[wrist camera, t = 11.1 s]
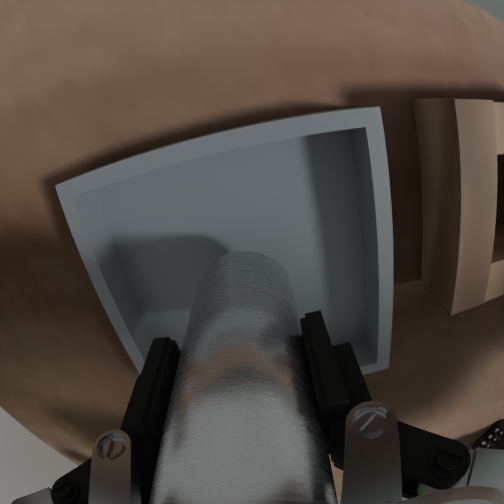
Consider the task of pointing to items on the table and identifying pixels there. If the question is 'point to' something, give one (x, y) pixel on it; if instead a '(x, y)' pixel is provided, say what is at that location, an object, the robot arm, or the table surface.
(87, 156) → the table surface
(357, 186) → the tray
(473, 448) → the battery charger
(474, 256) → the socket block
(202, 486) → the pin
